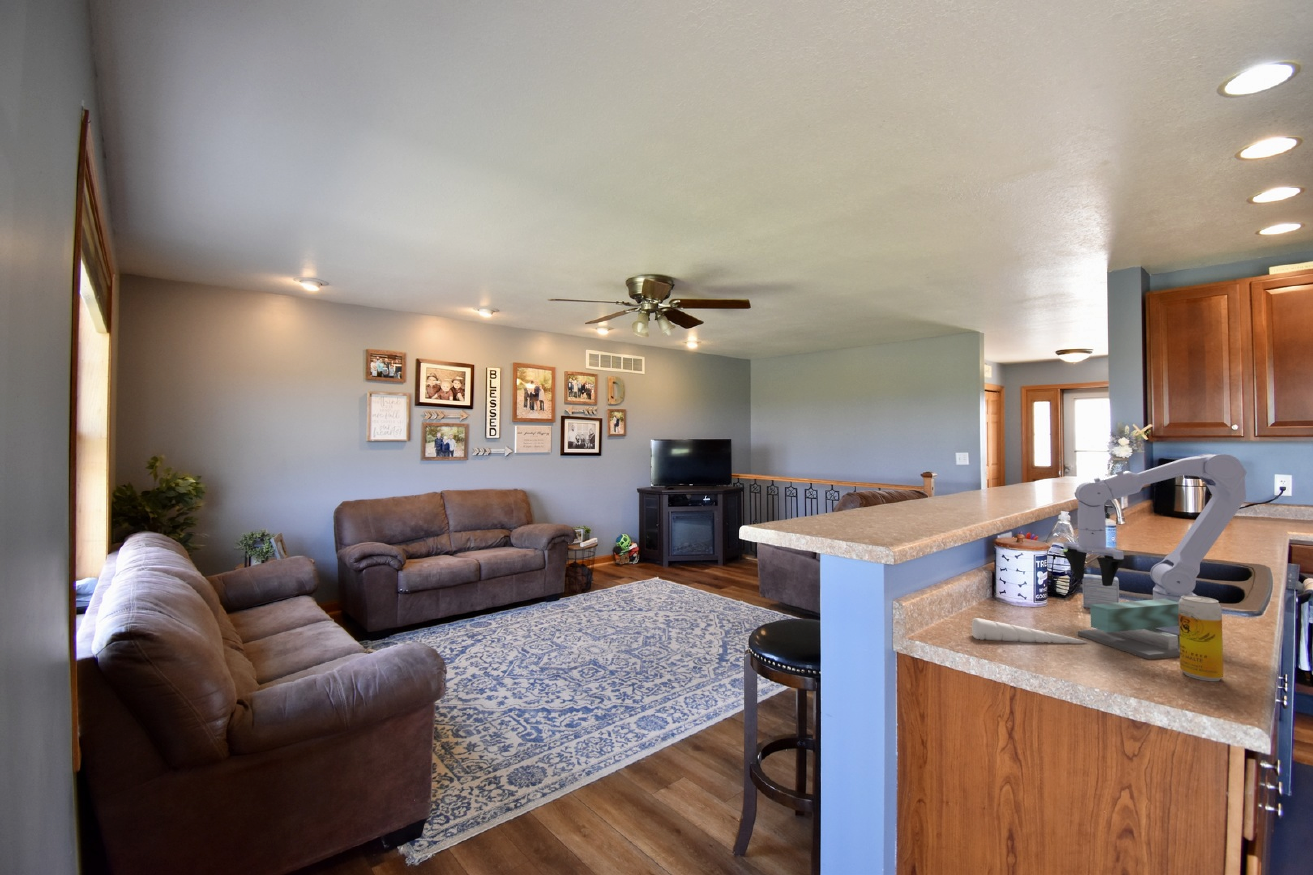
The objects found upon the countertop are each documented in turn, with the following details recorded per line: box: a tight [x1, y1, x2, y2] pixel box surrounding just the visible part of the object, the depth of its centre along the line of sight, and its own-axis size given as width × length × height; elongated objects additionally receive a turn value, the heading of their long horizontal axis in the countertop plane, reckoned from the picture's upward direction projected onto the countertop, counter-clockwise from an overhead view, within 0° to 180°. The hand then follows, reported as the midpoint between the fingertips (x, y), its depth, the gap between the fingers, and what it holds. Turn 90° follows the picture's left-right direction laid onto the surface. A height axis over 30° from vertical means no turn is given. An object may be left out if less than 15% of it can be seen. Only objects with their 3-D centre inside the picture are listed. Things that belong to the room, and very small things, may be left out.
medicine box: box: [1081, 573, 1120, 609], centre depth 157 cm, size 8×4×9 cm, turn 52°
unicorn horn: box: [971, 617, 1088, 644], centre depth 131 cm, size 5×24×5 cm, turn 75°
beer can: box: [1178, 595, 1224, 682], centre depth 110 cm, size 6×6×15 cm
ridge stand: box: [1077, 628, 1180, 660], centre depth 128 cm, size 16×16×4 cm
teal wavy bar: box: [1089, 599, 1179, 632], centre depth 128 cm, size 22×4×5 cm, turn 102°
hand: (1092, 582), depth 145 cm, fingers open, 7 cm apart
